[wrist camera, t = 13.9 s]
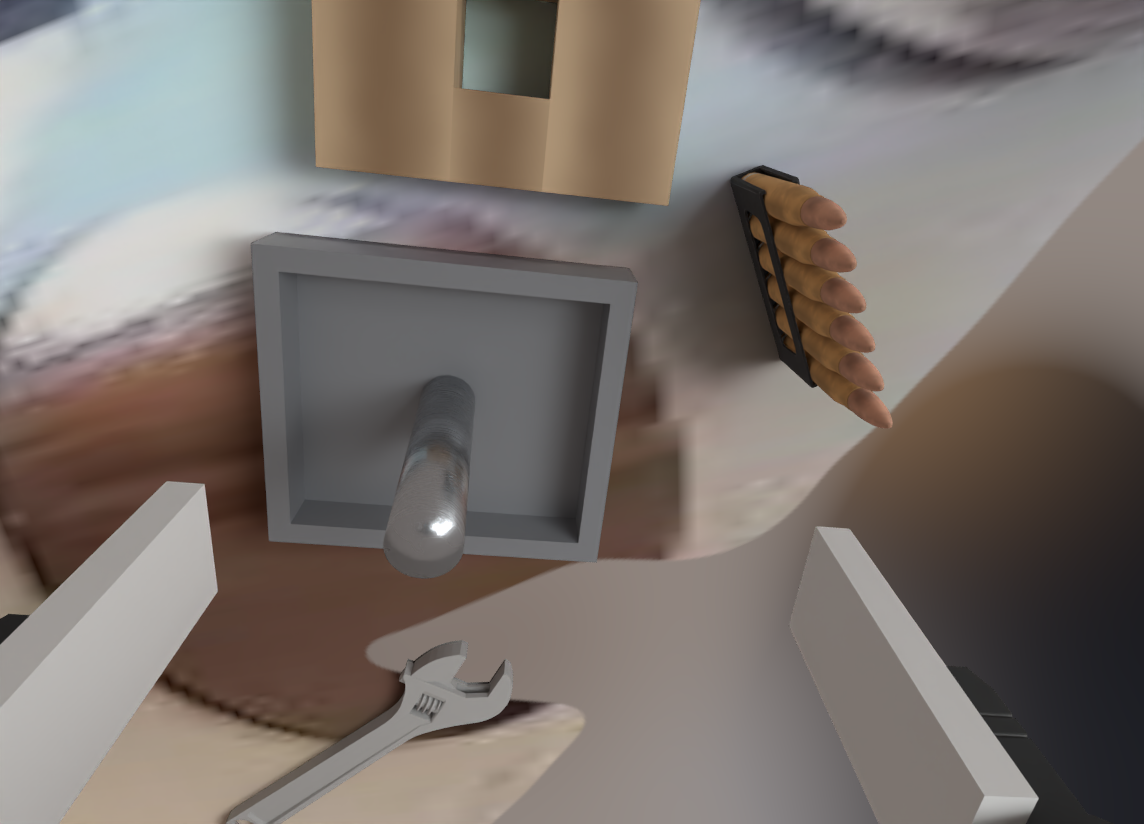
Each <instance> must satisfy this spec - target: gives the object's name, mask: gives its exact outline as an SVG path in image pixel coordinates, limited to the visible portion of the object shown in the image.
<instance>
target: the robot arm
mask: <svg viewBox="0 0 1144 824" xmlns="http://www.w3.org/2000/svg"><path fill="white" fill-rule="evenodd" d="M217 592H218V590H217V582H216V574H215V566H214V557H213V549H212V541H211V533H210V525H209V517H208V509H207V501H206V493H205V485H204V484H198V483H184V482H169V481H166V482H165V483H164V484H163V485H162V486H161V487H160V488H159V489H158V490H157V491H156V492H155V493H154V494H153V495H152V496H151V497H150V498H149V499H148V500H147V501H146V502H145V503H144V504H143V505H142V506H141V507H140V508H139V509H138V510H137V511H136V512H135V513H134V514H133V515H132V516H131V517H130V518H129V519H128V520H127V521H126V522H125V523H124V524H123V525H122V526H121V527H120V528H119V529H118V530H117V531H116V532H115V533H113V534H112V535H111V536H110V537H109V538H108V539H107V540H106V541H105V542H104V543H103V544H102V545H101V546H100V547H99V548H98V549H97V550H96V551H95V552H94V553H93V554H92V555H91V556H90V557H89V558H88V559H87V560H86V561H85V562H84V563H83V564H82V565H81V566H80V567H79V568H78V569H77V570H76V571H75V572H74V573H73V574H72V575H71V576H70V577H69V578H68V579H67V580H66V581H65V582H64V583H63V584H62V585H61V586H60V587H59V588H57V589H56V590H55V591H54V592H53V593H52V594H51V595H50V596H49V597H48V598H47V599H46V600H45V601H44V602H43V603H42V604H41V605H40V606H39V607H38V608H37V609H36V610H35V611H34V612H33V613H32V614H31V615H16V614H8V615H6V616H4V617H3V618H1V619H0V824H59V823H60V821H61V820H62V818H63V817H64V816H65V814H66V813H67V811H68V810H69V808H70V807H71V805H72V804H73V802H74V801H75V799H76V798H77V796H78V795H79V794H80V792H81V791H82V789H83V788H84V786H85V785H86V783H87V782H88V780H89V779H90V777H91V776H92V775H93V773H94V772H95V770H96V769H97V767H98V766H99V764H100V763H101V761H102V760H103V758H104V757H105V756H106V754H107V753H108V751H109V750H110V748H111V747H112V745H113V744H114V742H115V741H116V739H117V738H118V737H119V735H120V734H121V732H122V731H123V729H124V728H125V726H126V725H127V723H128V722H129V720H130V719H131V717H132V716H133V715H134V713H135V712H136V710H137V709H138V707H139V706H140V704H141V703H142V701H143V700H144V698H145V697H146V696H147V694H148V693H149V691H150V690H151V688H152V687H153V685H154V684H155V682H156V681H157V679H158V678H159V677H160V675H161V674H162V672H163V671H164V669H165V668H166V666H167V665H168V663H169V662H170V660H171V659H172V658H173V656H174V655H175V653H176V652H177V650H178V649H179V647H180V646H181V644H182V643H183V641H184V640H185V638H186V637H187V636H188V634H189V633H190V631H191V630H192V628H193V627H194V625H195V624H196V622H197V621H198V619H199V618H200V617H201V615H202V614H203V612H204V611H205V609H206V608H207V606H208V605H209V603H210V602H211V600H212V599H213V598H214V596H215V595H216V593H217ZM789 627H790V630H791V632H792V634H793V636H794V638H795V641H796V643H797V645H798V647H799V649H800V652H801V654H802V656H803V658H804V660H805V663H806V665H807V667H808V669H809V671H810V673H811V676H812V678H813V680H814V682H815V685H816V687H817V689H818V691H819V693H820V695H821V698H822V700H823V702H824V704H825V706H826V709H827V711H828V713H829V715H830V717H831V720H832V722H833V724H834V726H835V728H836V731H837V733H838V735H839V737H840V739H841V742H842V744H843V746H844V748H845V750H846V753H847V755H848V757H849V759H850V761H851V764H852V766H853V768H854V770H855V772H856V774H857V777H858V779H859V781H860V783H861V786H862V788H863V790H864V792H865V794H866V796H867V799H868V801H869V803H870V805H871V807H872V809H873V812H874V814H875V816H876V818H877V821H878V823H879V824H1113V823H1110V822H1108V821H1106V820H1104V819H1101V818H1098V817H1096V816H1094V815H1088V814H1087V812H1086V811H1085V810H1084V809H1083V807H1082V806H1081V804H1080V803H1079V802H1078V800H1077V799H1076V798H1075V796H1074V795H1073V794H1072V792H1071V791H1070V790H1069V789H1068V787H1067V786H1066V785H1065V783H1064V782H1063V781H1062V779H1061V778H1060V777H1059V775H1058V774H1057V773H1056V771H1055V770H1054V769H1053V767H1052V766H1051V765H1050V763H1049V762H1048V761H1047V759H1046V758H1045V757H1044V755H1043V754H1042V753H1041V752H1040V750H1039V749H1038V747H1037V746H1036V745H1035V744H1034V742H1033V741H1032V740H1031V739H1028V738H1027V733H1026V732H1025V730H1024V729H1023V728H1022V726H1021V725H1020V724H1019V723H1018V721H1017V720H1016V718H1012V713H1011V712H1010V711H1009V709H1008V708H1007V706H1005V704H1004V703H1003V701H1002V700H1001V699H1000V697H999V696H998V695H997V693H996V692H995V691H994V689H993V688H991V687H990V686H989V685H988V684H987V683H985V682H984V681H983V680H982V679H980V678H979V677H978V676H977V675H976V674H974V673H973V672H972V671H970V670H969V669H968V668H967V667H956V666H946V665H945V664H944V662H943V661H942V660H941V658H940V657H939V655H938V654H937V653H936V651H935V650H934V648H933V647H932V645H931V644H930V643H929V641H928V640H927V638H926V637H925V636H924V634H923V633H922V631H921V630H920V628H919V627H918V625H917V624H916V623H915V621H914V620H913V618H912V617H911V616H910V614H909V613H908V611H907V610H906V608H905V607H904V606H903V604H902V603H901V601H900V600H899V598H898V597H897V596H896V594H895V593H894V591H893V590H892V588H891V587H890V586H889V584H888V583H887V581H886V580H885V579H884V577H883V576H882V574H881V573H880V572H879V570H878V569H877V567H876V566H875V564H874V563H873V561H872V560H871V559H870V557H869V556H868V554H867V553H866V551H865V550H864V549H863V547H862V546H861V544H860V543H859V542H858V540H857V539H856V537H855V536H854V534H853V533H852V532H851V530H850V529H845V528H831V527H816V528H815V531H814V535H813V539H812V543H811V546H810V550H809V554H808V557H807V561H806V564H805V568H804V572H803V575H802V579H801V583H800V587H799V590H798V594H797V597H796V601H795V605H794V609H793V612H792V616H791V620H790V623H789Z"/></svg>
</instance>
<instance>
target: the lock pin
mask: <svg viewBox="0 0 1144 824" xmlns="http://www.w3.org/2000/svg"><path fill="white" fill-rule="evenodd" d="M474 412H475V395H474V392H473V390H472V388H471V387H470V386H469V384H467V383H466V382H465V381H464V380H462V379H460V378H458V377H455V376H440V377H437V378H434V379H433V380H431V381H430V382H429V383H427V385H426V386H425V387H424V389H423V391H422V394H421V398H420V402H419V406H418V409H417V413H416V417H415V421H414V425H413V429H412V432H411V436H410V440H409V444H408V448H407V452H406V455H405V459H404V463H403V467H402V471H401V475H400V478H399V482H398V486H397V490H396V494H395V498H394V501H393V505H392V509H391V513H390V517H389V521H388V524H387V528H386V532H385V536H384V540H383V549H384V553H385V556H386V558H387V560H388V561H389V562H390V564H391V565H392V566H393V567H394V568H395V569H397V570H398V571H400V572H401V573H403V574H405V575H408V576H411V577H415V578H433V577H438V576H441V575H443V574H445V573H447V572H449V571H450V570H451V569H453V568H454V567H455V566H456V565H457V564H458V562H459V561H460V559H461V557H462V554H463V550H464V539H465V526H466V514H467V501H468V488H469V476H470V463H471V450H472V438H473V425H474Z"/></svg>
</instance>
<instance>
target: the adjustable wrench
mask: <svg viewBox="0 0 1144 824" xmlns="http://www.w3.org/2000/svg"><path fill="white" fill-rule="evenodd" d="M467 649H468V643H467V642H465V641H463V640H459V641H452V642H447V643H444V644H441V645H438V646H436V647H434V648H431V649H430V650H428V651H426V652H425V653H423V654H422V655H421V656H419V657H418V658H417V659H416V660H415V661H413V660H410V659H408V660H407V664H406V668H405V669H404V670H403V671H402V673H401V675H400V678H399V681H400V682H402V683H405V691H404V694H403V695H402V697H401V699H400V700H399V701H398V702H397V703H396V704H395V705H394V706H393V707H392V708H390V709H389V710H388V711H386V712H385V713H383V714H381V715H380V716H378V717H377V718H375V719H374V720H372V721H370V722H369V723H367V724H366V725H364V726H363V727H361V728H359V729H358V730H356V731H355V732H353V733H352V734H350V735H348V736H347V737H345V738H344V739H342V740H341V741H339V742H337V743H336V744H334V745H333V746H331V747H330V748H328V749H326V750H325V751H323V752H322V753H320V754H319V755H317V756H315V757H314V758H312V759H311V760H309V761H308V762H306V763H304V764H303V765H301V766H300V767H298V768H297V769H295V770H293V771H292V772H290V773H289V774H287V775H286V776H284V777H282V778H281V779H279V780H278V781H276V782H275V783H273V784H271V785H270V786H268V787H267V788H265V789H264V790H262V791H260V792H259V793H257V794H256V795H254V796H253V797H251V798H249V799H248V800H246V801H245V802H243V803H242V804H240V805H238V806H237V807H235V808H234V809H233V810H232V811H231V812H230V815H229V817H228V819H227V822H226V824H239V823H238V822H237V821H236V820H246V821H250V822H251V823H253V824H281V823H282V822H284V821H285V820H287V819H288V818H290V817H291V816H293V815H294V814H296V813H297V812H299V811H300V810H302V809H304V808H305V807H307V806H308V805H310V804H311V803H313V802H314V801H316V800H317V799H319V798H320V797H322V796H323V795H325V794H326V793H328V792H329V791H331V790H332V789H334V788H336V787H337V786H339V785H340V784H342V783H343V782H345V781H346V780H348V779H349V778H351V777H352V776H354V775H355V774H357V773H358V772H360V771H361V770H363V769H365V768H366V767H368V766H369V765H371V764H372V763H374V762H375V761H377V760H378V759H380V758H381V757H383V756H384V755H386V754H387V753H389V752H390V751H392V750H393V749H395V748H397V747H398V746H400V745H401V744H403V743H404V742H406V741H407V740H409V739H411V738H413V737H415V736H417V735H420V734H423V733H426V732H430V731H434V730H438V729H442V728H446V727H451V726H457V725H463V724H469V723H476V722H481V721H485V720H488V719H490V718H492V717H494V716H496V715H497V714H499V713H500V712H501V711H502V710H503V709H504V708H505V707H506V705H507V704H508V702H509V700H510V697H511V692H512V684H513V670H512V665H511V663H510V662H509V661H508V660H507V659H505V660H504V661H503V663H502V664H501V666H500V667H499V668H498V670H497V671H496V673H495V674H494V676H493V677H492V679H491V680H490V682H473V683H472V682H471V683H467V682H465V681H462V680H460V679H458V678H455V677H454V676H455V674H456V673H457V671H458V670H459V668H460V666H461V665H462V663H463V662H464V661H465V659H466V657H467Z"/></svg>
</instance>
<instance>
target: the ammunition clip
mask: <svg viewBox="0 0 1144 824" xmlns="http://www.w3.org/2000/svg"><path fill="white" fill-rule="evenodd" d="M730 183H731V187H732V190H733V194H734V197H735V201H736V204H737V208H738V211H739V215H740V218H741V222H742V225H743V229H744V232H745V236H746V239H747V243H748V247H749V250H750V254H751V257H752V261H753V264H754V268H755V271H756V275H757V278H758V282H759V285H760V289H761V292H762V296H763V299H764V303H765V306H766V310H767V314H768V317H769V321H770V324H771V328H772V331H773V335H774V338H775V342H776V345H777V349H778V352H779V356H780V359H781V360H782V361H783V362H784V363H785V364H786V365H787V366H788V367H790V368H791V369H792V370H793V371H794V372H795V373H796V374H797V375H798V376H799V377H800V378H802V379H803V380H804V381H805V382H806V383H807V384H808V385H809V386H810V387H811V388H814V387H816V386H817V385H818V386H819V387H820V388H821V389H822V390H823V391H824V392H825V393H826V394H827V395H829V396H830V397H831V398H832V399H833V400H834V401H836V402H838V403H840V404H842V405H844V406H845V407H847V408H848V409H849V410H851V411H852V412H854V413H855V414H856V415H857V416H858V417H860V418H861V419H863V420H864V421H866V422H868V423H870V424H872V425H874V426H877V427H880V428H891V427H892V418H891V415H890V413H889V411H888V409H887V408H886V406H885V405H884V404H883V402H882V401H881V400H880V399H879V397H878V396H876V395H875V394H874V393H873V392H872V391H881V390H883V389H884V382H883V379H882V377H881V374H880V373H879V371H878V370H877V369H876V367H875V366H874V365H873V364H872V363H871V362H870V361H869V360H868V359H867V358H866V357H864V355H863V354H862V353H861V352H864V353H868V352H872V351H874V350H875V342H874V339H873V337H872V335H871V334H870V333H869V331H868V330H867V329H866V328H865V327H864V325H863V324H861V323H860V322H859V321H857V320H856V319H855V318H854V317H853V316H852V315H850V314H849V313H860V312H863V311H864V310H865V309H866V302H865V299H864V297H863V296H862V294H861V293H860V292H859V290H858V289H857V288H856V287H854V286H853V285H852V284H850V283H849V282H847V281H846V280H845V279H844V278H842V277H841V276H839V275H838V273H837V272H849V271H852V270H853V269H855V268H856V265H857V262H856V258H855V256H854V255H853V253H852V252H851V251H850V250H849V249H848V248H847V247H846V246H845V245H843V244H842V243H840V242H838V241H836V240H835V239H833V238H832V237H830V236H829V235H828V234H827V232H826V231H824V230H833V229H837V228H840V227H842V226H844V225H845V224H846V221H847V217H846V214H845V212H844V211H843V210H842V208H841V207H840V206H839V205H837V204H836V203H834V202H833V201H831V200H829V199H827V198H824V197H823V196H821V195H819V194H818V193H817V192H816V191H814V190H813V189H811V188H809V187H806V186H802V185H800V183H799V179H798V178H797V177H794V176H791V175H789V174H786V173H783V172H780V171H778V170H775V169H772V168H769V167H766V166H764V165H762V166H759V167H757V168H754V169H752V170H749V171H747V172H744V173H742V174H739V175H737V176H734V177H732V178H731V181H730Z"/></svg>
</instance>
